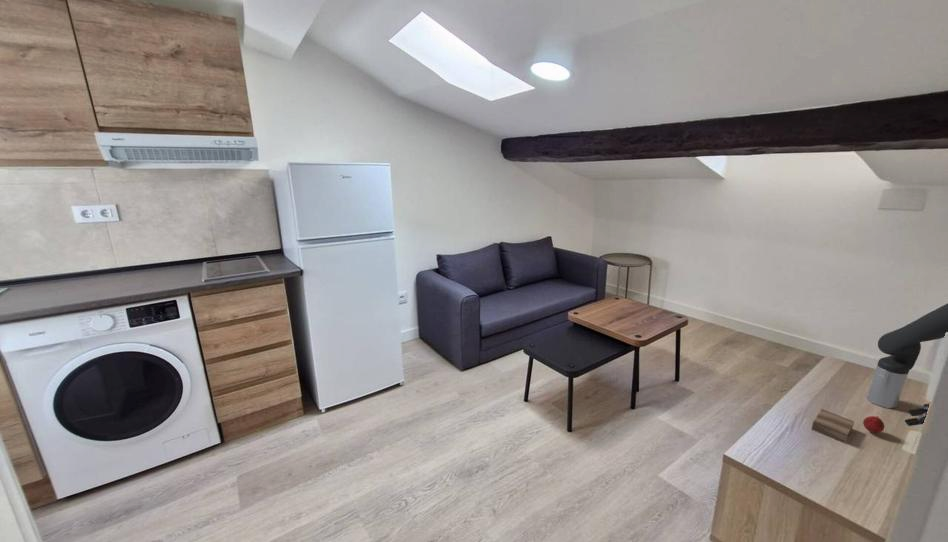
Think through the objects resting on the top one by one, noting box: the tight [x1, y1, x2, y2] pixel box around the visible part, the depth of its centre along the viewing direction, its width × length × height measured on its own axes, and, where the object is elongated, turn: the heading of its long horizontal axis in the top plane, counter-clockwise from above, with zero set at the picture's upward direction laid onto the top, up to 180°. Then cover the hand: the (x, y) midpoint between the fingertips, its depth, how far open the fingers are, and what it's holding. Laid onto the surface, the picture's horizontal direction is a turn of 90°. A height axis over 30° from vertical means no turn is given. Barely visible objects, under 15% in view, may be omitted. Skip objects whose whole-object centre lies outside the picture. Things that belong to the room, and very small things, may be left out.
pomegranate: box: [862, 414, 885, 434], centre depth 149 cm, size 6×6×8 cm
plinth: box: [811, 409, 855, 444], centre depth 152 cm, size 12×10×4 cm
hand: (908, 418), depth 141 cm, fingers open, 8 cm apart
